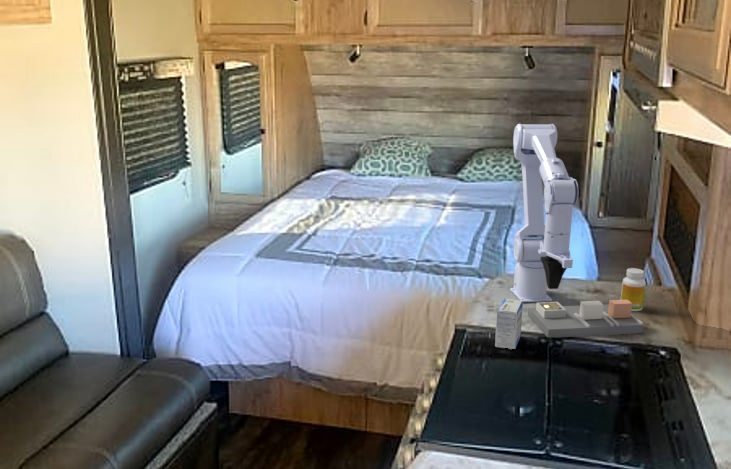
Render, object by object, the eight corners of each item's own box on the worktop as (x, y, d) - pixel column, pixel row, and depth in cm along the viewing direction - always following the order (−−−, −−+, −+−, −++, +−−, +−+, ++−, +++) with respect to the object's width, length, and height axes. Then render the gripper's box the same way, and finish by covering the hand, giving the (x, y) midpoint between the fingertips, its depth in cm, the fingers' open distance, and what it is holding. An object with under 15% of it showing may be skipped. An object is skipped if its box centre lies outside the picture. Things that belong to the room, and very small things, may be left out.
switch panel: (527, 315, 177) (528, 300, 176) (615, 311, 180) (617, 296, 179) (547, 337, 165) (549, 322, 164) (642, 333, 168) (644, 317, 167)
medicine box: (515, 350, 158) (517, 313, 156) (494, 347, 160) (496, 310, 157) (520, 336, 166) (523, 300, 163) (500, 333, 167) (503, 297, 165)
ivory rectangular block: (579, 315, 172) (580, 301, 171) (597, 314, 173) (598, 300, 172) (583, 319, 170) (585, 305, 169) (602, 318, 170) (603, 304, 169)
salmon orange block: (607, 314, 173) (609, 300, 172) (625, 313, 173) (627, 299, 173) (612, 318, 170) (614, 304, 170) (630, 317, 171) (632, 303, 170)
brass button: (540, 308, 175) (541, 302, 174) (555, 308, 175) (555, 302, 175) (546, 314, 171) (546, 308, 171) (561, 313, 172) (561, 307, 171)
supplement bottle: (644, 312, 180) (648, 275, 177) (621, 310, 181) (625, 273, 178) (640, 304, 185) (645, 267, 182) (618, 303, 186) (622, 266, 183)
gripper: (529, 223, 174) (525, 278, 178) (552, 241, 161) (547, 299, 164) (558, 222, 175) (553, 276, 179) (583, 240, 161) (578, 298, 165)
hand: (552, 287), depth 172 cm, fingers closed
